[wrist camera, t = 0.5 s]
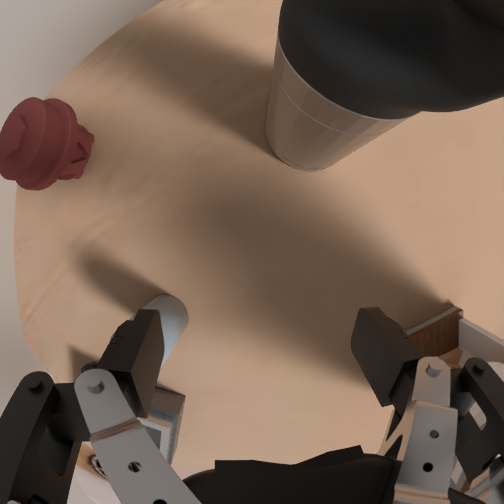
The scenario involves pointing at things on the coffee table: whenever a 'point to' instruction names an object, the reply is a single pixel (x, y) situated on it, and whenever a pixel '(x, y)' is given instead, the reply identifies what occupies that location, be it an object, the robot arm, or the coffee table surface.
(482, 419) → the white shelf unit
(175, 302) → the pale blue squeeze bottle
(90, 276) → the coffee table surface
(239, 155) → the coffee table surface
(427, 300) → the coffee table surface
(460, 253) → the coffee table surface
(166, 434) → the square grey open box
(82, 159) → the mechanical component
